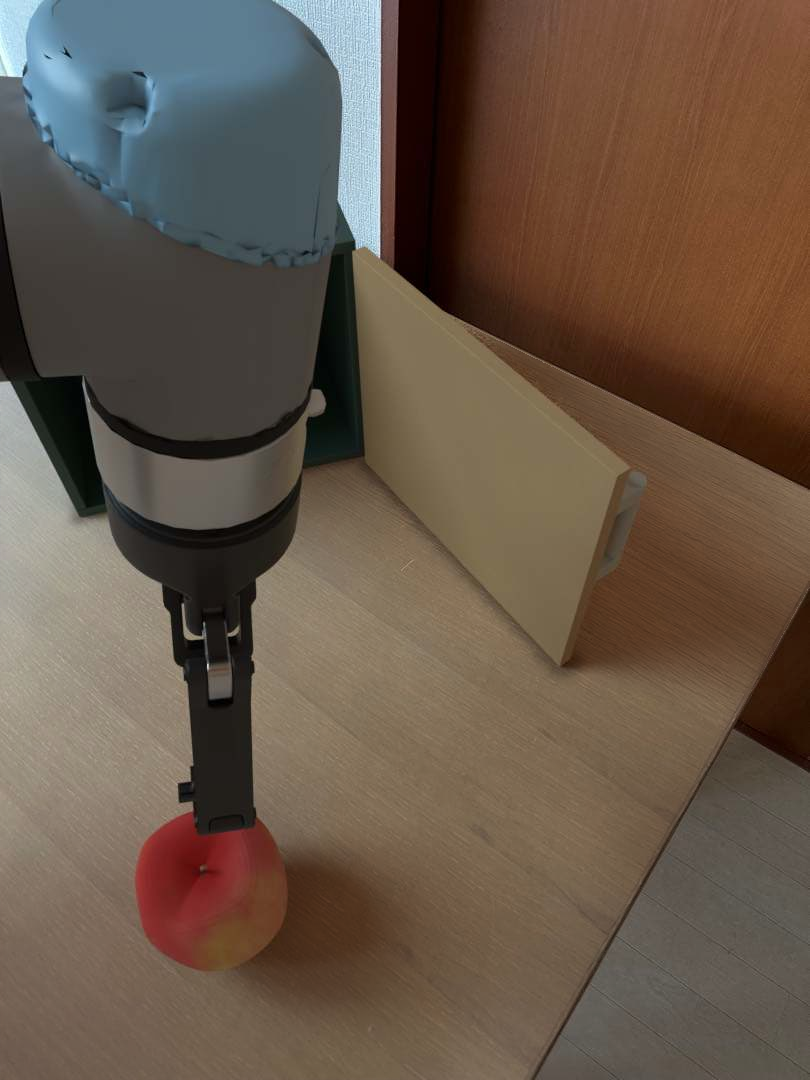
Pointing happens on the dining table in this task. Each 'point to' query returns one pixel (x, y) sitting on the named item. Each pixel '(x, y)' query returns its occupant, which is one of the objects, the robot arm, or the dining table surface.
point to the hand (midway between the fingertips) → (209, 696)
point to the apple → (210, 893)
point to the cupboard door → (488, 460)
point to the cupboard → (328, 435)
